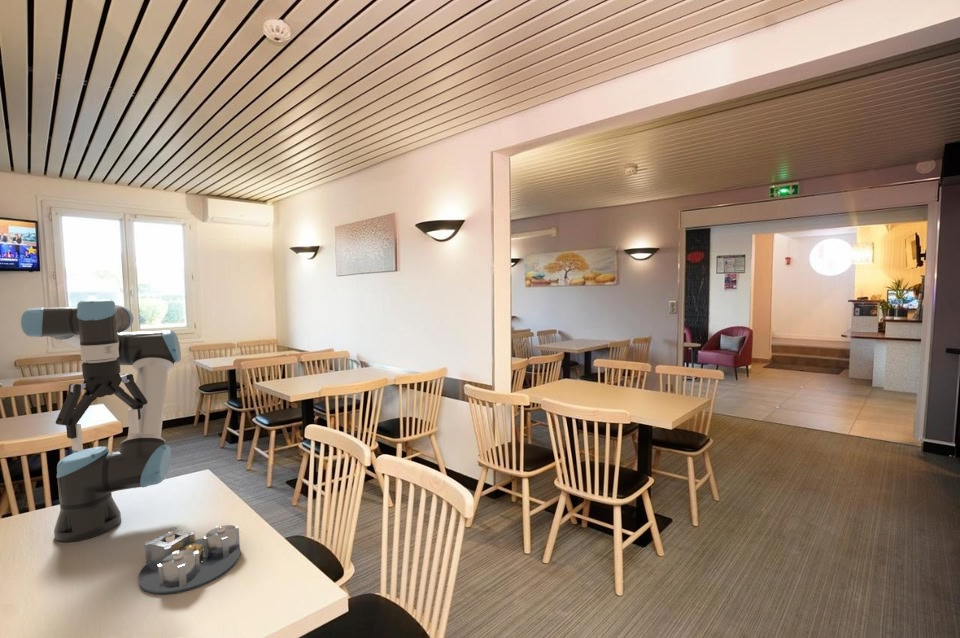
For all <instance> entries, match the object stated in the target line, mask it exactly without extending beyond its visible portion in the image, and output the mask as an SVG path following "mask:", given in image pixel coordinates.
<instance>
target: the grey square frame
mask: <svg viewBox="0 0 960 638" xmlns="http://www.w3.org/2000/svg"><path fill="white" fill-rule="evenodd" d="M170 531H172V534H174V535H175V540H173V541H171V542H170V543H167V542H166V539H165V537H166V536H167V533H168V532H170ZM195 540H196V532H195V531H191V532H190V531H186V530H185V531H184V530H180V529H178V528H177V527H174V528H173V527H172V528H170V529H169V530H168V531H167V532H165V533H163V534H161V535H159V536H158V537H156V538H154V539H152V540H151V541H150V540H149V541H145V543H144V552H145V565H146V564H147V563H151V562H152V563H156V564H160V563H161V562H162V560H163V559H164V558H166V557H167V556H169V555H171V554H172V552H175V551H178V550H179V551H180V550H181V549H183V548H184V547H186V546H187V545H189V544H193V543H195V544H196V541H195Z"/></svg>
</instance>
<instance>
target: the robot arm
mask: <svg viewBox="0 0 960 638" xmlns="http://www.w3.org/2000/svg"><path fill="white" fill-rule="evenodd" d="M133 322H134V316H133V313H132V312H131V310H130V309H129V308H127V307H125V306H122V305H119V304H118V305H117V304H116V303H115V301H114V300H112V299H93V300H92V299H89V300H88V299H86V300H80V301H79V302H77V304H76V306H71V307H70V306H69V307H67V306H66V307H65V306H63V307H44V306H42V307H35V308H28V309H26V310H24V311H23V313H22V314H21V318H20V327H21V329H22V332H23V333H24V334H25V335H26V336H28V337H31V338H42V337H48V338H49V337H50V338H51V339H52V338H53V339H54V340H56V341H59V342H61V343H64V344H67V345H69V346H71V347H74V348H75V349H78V350H80V360H81V361H82V364H81V370H82V371H81V373H82V377H83V383H69V385H68V394H67V395H66V398H65V400H64V403H63V405H62V406H61V409H60V411H59V413H58V415H57V417H56V420H55V424H56V425H58V426H59V425H60V426H65V428H66V437H67V438H68V439H70V440H71V443H70V444H71V451H75V452H74V453H70V454H69V455H66V456H65V457H63V458H61V459H60V460H59V461H58V463H57V465H56V472H57V473H56V476H55V477H56V479H57V480H56V481H57V486H58V487H57V488H58V489H57V490H58V498H59V509H60V510H59V513H58V517H57V520H56V523H55V525H54V530H53V535H54V539H55V541H57V542H61V543H62V542H63V543H70V542H79V541H82V540H87V539H90V538H93V537H96V536H99V535H102V534H104V533H106V532H108V531H110V530H112V529H113V528H115V527H117V526H118V525H119V524H120V523H121V521H122V516H121V514H122V513H121V511H120V509H119V506H118V505H117V504H116V501H115V500H114V498H113V495H112V494H113V493H112V492H116V491H122V490H124V491H125V490H130V489H138V488H147V487H149V486H154V485H158V484H160V483H162V482H163V481H164V480H165V479H166V477H167V476H168V473H169V470H170V466H171V461H172V450H171V446H170V445H168V444H166V443H167V442H166V439H164V438H163V437H162V429H163V419H164V418H163V417H164V412H165V411H164V410H165V400H166V391H167V384H168V383H167V382H168V375H169V372H171V371H172V370H173V369H174V367H175V364H176V363H180V361H181V359H182V354H181V353H182V352H181V351H182V350H181V346H180V341H179V337H178V335H177V333H176V332H175V331H173V330H169V329H168V330H167V329H166V330H162V329H159V330H144V331H126V330H128V329H130V327H131V326H133ZM121 366H132V368H133V369H134V370H135V371H136V373H137V374H136V379H134V374H132V373H123V374H122V375H120V373H121ZM121 383H123V385H124V386H125V388H126V389H127V391H128V392H129V393H130V394H129V393H127V392H126V391H125V389H124V388H122V387H121V386H120V385H121ZM84 390H85V392H84V393H83V395H82V396H81V394H82V392H83V391H84ZM113 395H115V396H116V397H117V398H118V399H120V400H121V401H122V402H123V403H125V404H126V405H127V406H129V407H130V408H128V409H127V418H128V430H127V431H128V433H127V437H126V439H123V440H122V441H121V442H120V445H119V449H118V450H116V451H115V450H114V451H110V449H109V448H108V447H107V446H94V447H89V448H85V449H84V446H83V444H84V443H83V435H82V424H81V423H78V422H80V420H81V419H82V417H83V415H85V413H86V411H87V410H88V409H89V408H90V406H91V404H92V403H93V402H95V400H96V399H97V398H104V397H106V396H113ZM80 397H81V398H80ZM79 399H80V400H79ZM78 401H79V402H78Z"/></svg>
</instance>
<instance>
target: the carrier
mask: <svg viewBox="0 0 960 638" xmlns="http://www.w3.org/2000/svg"><path fill="white" fill-rule="evenodd" d="M169 531H170V530H169ZM169 531H167V532H168V533H167V532H166V533H167V536H166V537H165V539H166V542H167V543H170V542H171V541H173V540H175V535H174V534H172V531H170V532H169ZM195 541H196V544H195V543H193V544H189V545H187V546H186V547H184V548H183V549H181V550H180V551H179V550H178V551H175V552H172V554H171V555H169V556H167V557H166V558H164V559H163V560H162V562H161V563H160V564H156V563H152V562H151V563H147V564H146V563H145V565H144V566H143V567H142V569H141V570H140V571H139V573H138V586H139V588H140V589H141V590H142V591H143V592H145V593H147V594H151V595H156V596H157V595H158V596H160V595H173V594H180V593H184V592H185V593H186V592H188V591H191V590H195V589H197V588H200V587H203V586H205V585H208V584H210V583H212V582H213V581H215V580H217V579H219V578H220V577H222V576H223V575H225V574H227V573H228V572H229V571H230V570H231V569H232V568H233V567H234V566H235V565H236V564H237V563H238V561H239V560H240V557H241V546H240V544H241V542H240V528H239V525H231V524H224V525H221V524H219V525H217V526H214V528H213V529H210V530H209V531H208V532H206V534H205V536H202V538H199V539H195Z"/></svg>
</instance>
